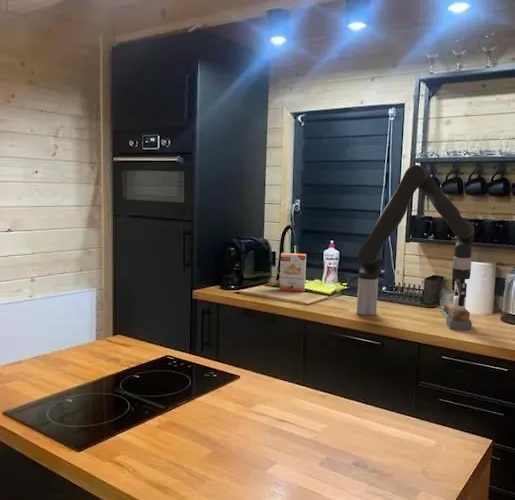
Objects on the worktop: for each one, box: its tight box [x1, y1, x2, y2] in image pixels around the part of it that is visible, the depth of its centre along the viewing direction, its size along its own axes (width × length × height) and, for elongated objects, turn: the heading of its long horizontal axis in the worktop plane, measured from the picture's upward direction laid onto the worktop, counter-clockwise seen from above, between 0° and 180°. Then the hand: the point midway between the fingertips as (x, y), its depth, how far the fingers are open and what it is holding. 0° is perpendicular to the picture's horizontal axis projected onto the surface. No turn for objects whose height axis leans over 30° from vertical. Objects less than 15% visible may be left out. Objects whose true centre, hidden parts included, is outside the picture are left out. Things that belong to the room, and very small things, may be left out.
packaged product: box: [439, 303, 453, 319], centre depth 263 cm, size 18×5×10 cm
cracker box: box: [279, 252, 307, 293], centre depth 311 cm, size 14×6×21 cm, turn 81°
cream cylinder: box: [452, 295, 467, 312], centre depth 243 cm, size 5×5×6 cm
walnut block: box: [448, 308, 471, 321], centre depth 244 cm, size 7×7×4 cm
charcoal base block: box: [445, 316, 473, 331], centre depth 245 cm, size 9×9×4 cm
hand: (459, 303), depth 243 cm, fingers open, 8 cm apart
